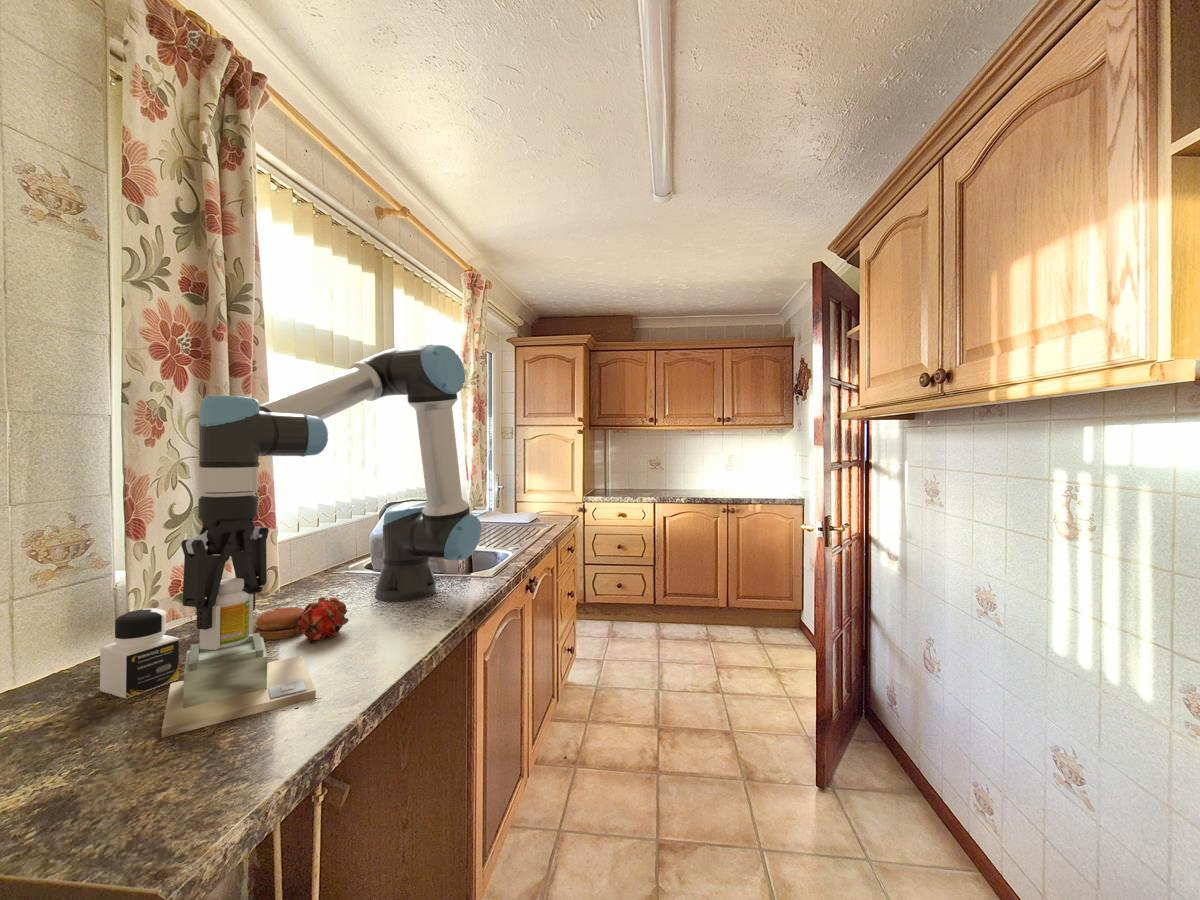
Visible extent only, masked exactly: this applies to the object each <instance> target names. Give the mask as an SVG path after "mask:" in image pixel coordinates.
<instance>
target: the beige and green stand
mask: <svg viewBox="0 0 1200 900" xmlns="http://www.w3.org/2000/svg"><path fill="white" fill-rule="evenodd" d="M264 640H265V639H263V637H260V633H255V632H254V633H252V634H250V635H249V638H248V639H247V640H246V641H245V642H243V643H241V644H238V645H235V646H231V647H226V648H219V649H216V650H209V649H200V642H199V643H194V644H191V645H190V650H187V651H186V657H185V663H184V664H185V665H184V671H183V680H180V681H174V682H172V683H169V684H170V685H169V690H168V696H167V701H166V706H165V710H164V716H163V721H162V726H161V739H163V738H166V737H167V738H168V737H171V736H174V735H178V734H181V733H182V734H183V733H186V732H190V731H193V730H197V729H201V728H204V727H209V726H213V725H216V724H217V725H218V724H220V723H221V724H222V723H225V722H228V721H231V720H235V719H239V718H243V717H248V716H252V715H255V714H259V713H264V712H267V711H271V710H274V709H275V710H276V709H279V708H282V707H283V708H284V707H286V706H290V705H294V704H298V703H301V702H302V703H303V702H306V701H308V700H313V699H316V698H317V690H316V689H317V688H315V684H314V682H313V679H312V677H311V675H310V671H309V670H308V667H307V665H306V662H305V660H304V657H303V656H302V655H298V656H294V657H289V658H284V659H280V660H274V661H269V662H268V652H267V650H266V645H265V641H264Z"/></svg>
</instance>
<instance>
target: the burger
mask: <svg viewBox="0 0 1200 900" xmlns="http://www.w3.org/2000/svg"><path fill="white" fill-rule="evenodd" d="M304 610H305V608H302V607H300V606H299V607H298V606H294V607H292V606H290V607H279V608H278V607H277V608H273V609H271V610H270V609H268V611H264V612H263V613H262V614H260V615H259V616H258V617H257V619H256V622H255V624H256V627H254V628H253V633H254V634H255V633H260V637H263V640H267V641H274V640H273V639H277V640H281V639H282V640H283V639H289V638H292V637H295V636H298V635H301V634H303V633H302V631H299V623H298V619H299V617H300V615H301V614H302V613H303V611H304ZM288 637H289V638H288ZM271 639H272V640H271Z"/></svg>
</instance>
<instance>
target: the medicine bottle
mask: <svg viewBox="0 0 1200 900" xmlns="http://www.w3.org/2000/svg"><path fill="white" fill-rule="evenodd" d="M166 625H167V612H166V611H165V610H163V609H161V608H155V607H154V608H153V607H152V608H142V609H136V610H133V611H132V610H131V611H128V612H125V613H124V614H122V615H120V616H118V617H117V618H116V619H115V621H114V642H113V643H110V644H107V645H106V644H105V645H103V646H102V647H100V649H99V650H100V653H99V654H100V656H99V657H100V661H99V662H100V663H99V665H100V666H99V673H100V674H99V676H100V677H99V691H100V692H102V693H106V694H108V695H111V694H112V696H115V697H118V698H122V699H124V698H125V700H128V698H129V699H131V697H132V698H134V697H133V696H135V695H137V696H139V695H138V694H140V695H142V694H144V693H143V692H145V693H147V692H146V691H148V692H150V691H153V690H156V689H158V688H161V687H163V685H164V686H166V685H169V684H171V683H170V682H172V683H174V682H177V681H178V680H179V678H180V677H179V675H180V671H179V670H180V664H179V663H180V660H179V659H180V638H179V637H176V636H171V635H167V634H166V631H167V628H166V627H167V626H166ZM176 680H177V681H176ZM173 681H174V682H173ZM168 683H169V684H168ZM165 684H166V685H165ZM160 686H161V687H160ZM157 687H158V688H157ZM155 688H156V689H155ZM152 689H153V690H152ZM149 690H150V691H149ZM141 693H142V694H141ZM135 697H136V696H135Z"/></svg>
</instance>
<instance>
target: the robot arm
mask: <svg viewBox="0 0 1200 900" xmlns="http://www.w3.org/2000/svg"><path fill="white" fill-rule="evenodd" d="M465 381H466V370H465V367H464V363H463V361H462V359H461V358H460V356H459V355H458V354H457V353H456V351H455V350H454V349H452V348H451V347H449V346H447V345H443V344H426V345H418V346H416V345H415V346H407V347H406V346H405V347H395V348H391V349H387V350H384V351H382V352H379V353H377V354H374V355H372V356H371V355H370V356H369V357H367V358H364V359H362V360H360V361H356V362H355V363H353V364H351V365H350V367H349V369H348V370H347V371H344V372H342V373H339V374H336V375H333V376H331V377H329V378H325V379H323V380H321V381H318V382H316V383H312V384H311V385H308V386H306V387H303V388H300V389H297V390H295V391H292V392H290V393H287V394H284V395H281V396H280V397H277V398H275V399H271V400H270V401H267V402H264V403H261V404H260V402H259V400H258V399H256V398H253V397H248V396H239V395H226V394H225V395H222V394H221V395H220V394H219V395H217V394H215V395H208V396H205V397H204V398H202V400H201V402H200V407H199V408H200V409H199V416H198V423H197V424H198V429H199V430H198V433H199V435H198V437H199V438H198V439H199V440H198V442H199V444H198V445H199V448H198V450H199V451H198V453H199V454H198V460H199V461H198V462H199V465H198V466H199V467H198V492H199V493H201V494H203V495H202V496H200V497H199V498H198V502H197V503H198V507H197V508H198V510H197V511H198V512H197V515H198V519H199V520H200V521H201V522H202V527H201V530H200V532H199V535H197V536H196V537H194V538H192V539H187V538H186V539H183V540H182V541H181V543H180V545H181V549H182V552H183V555H184V563H183V581H182V582H183V583H182V584H183V585H182V607H183V606H184V607H190V608H193V607H194V608H195V609H196V628H197V630H199V643H200V649H209V650H216V649H219V648H220V605H215V603H216V599H217V595H218V591H219V586H220V582H221V580H222V579H223V578H222V577H223V573H224V569H225V567H226V566H225V565H226V563H227V561H229V559H230V557H231V562H232V566H233V570H234V574H235V578H242V579H244V588H243V589H242V591H244V592H246V593H248V595H249V635H250V634H254V611H255V609H256V593H258V594H259V593H261V592H262V590H263V586H266V584H267V583H268V581H267V580H268V579H267V578H268V576H267V572H268V571H267V569H268V568H267V567H268V566H267V540H268V539H267V538H268V535H269V532H270V531H269V530H270V529H269V527H267V526H256V524H255V523H254V520H253V519H254V518H256V517H257V516H258V513H259V512H258V511H259V508H258V507H259V497H258V495H257V494H255V493H254V492H257V491H258V490H259V459H260V458H259V457H301V458H303V457H306V456H308V457H309V456H316V455H318V454H320V453H322V452H323V451H324V449H325V448H326V446H327V445H328V441H329V430H328V427H327V425H326V422H325V421H324V420H325V419H328V418H331V417H332V416H334V415H336V414H338V413H340V412H342V411H344V410H347V409H348V408H351V407H353V406H355V405H357V404H360V403H362V402H363V401H368V402H374V401H376V400H379V399H381V398H384V397H389V396H390V397H391V396H405V395H406V397H407V404H408V405H409V406H411V407H412V408H413V409H414V410H415V414H416V423H417V431H418V439H419V447H420V454H421V456H420V457H421V462H422V471H423V479H424V487H425V489H424V490H425V496H426V505H420V506H410V507H402V508H395V509H390V510H387V511H386V512H385V513H384V515H383V524H382V568H381V571H380V574H379V576H378V580H377V582H376V585H375V589H374V590H375V594H374V596H375V598H376V599H378V600H381V601H387V602H406V601H414V600H418V599H419V600H420V599H425V598H427V597H430V596H432V595H433V594H435V593H436V591H437V590H436V589H437V584H436V579H435V576H434V573H433V570H432V568H431V564H430V558H432V559H440V560H447V561H464V560H465V559H468V558H470V557H471V555H472V554H474V552H475V551H476V549H477V547H478V546H479V545H478V544H479V543H480V539H481V536H482V524H481V521H480V519H479V518H478V516H476V515H474V514H471V511H470V503H469V502H467V501H465V499H463V494H462V485H461V475H460V467H459V457H458V456H459V455H458V450H457V448H458V447H457V441H456V440H457V439H456V432H455V422H454V412H453V406H454V405H455V403H456V402H457V401H458V393H460V392H461V391H462V389H463V388H464V387H465V386H464V384H465V383H466V382H465Z"/></svg>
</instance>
